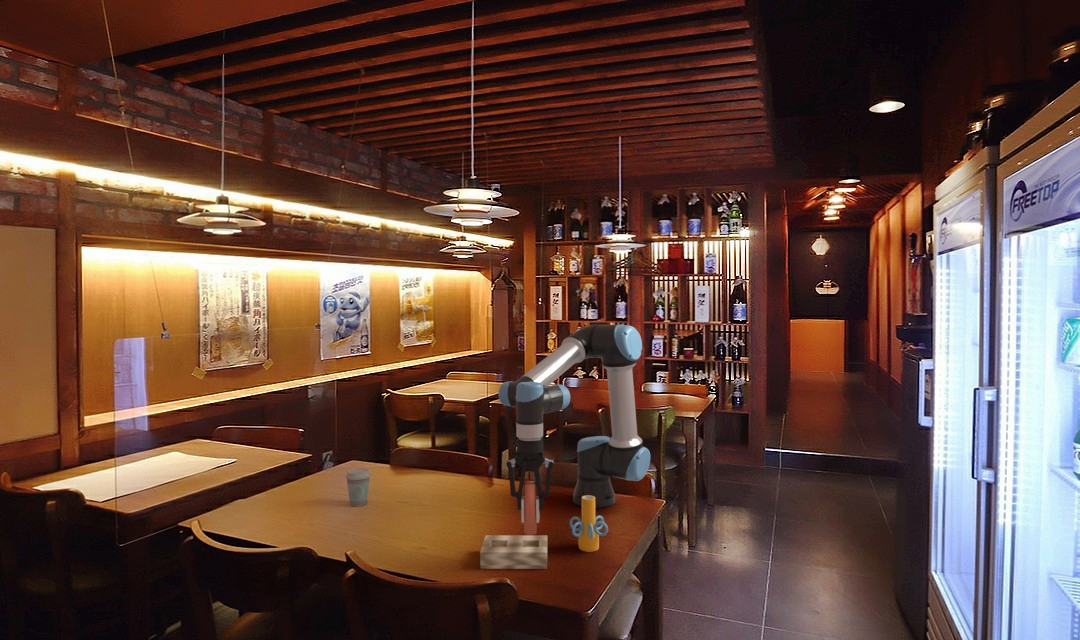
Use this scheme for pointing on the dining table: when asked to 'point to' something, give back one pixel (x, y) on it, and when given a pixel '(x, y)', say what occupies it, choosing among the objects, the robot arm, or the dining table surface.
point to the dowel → (530, 508)
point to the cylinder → (588, 526)
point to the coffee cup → (358, 486)
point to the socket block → (514, 552)
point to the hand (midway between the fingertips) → (530, 520)
